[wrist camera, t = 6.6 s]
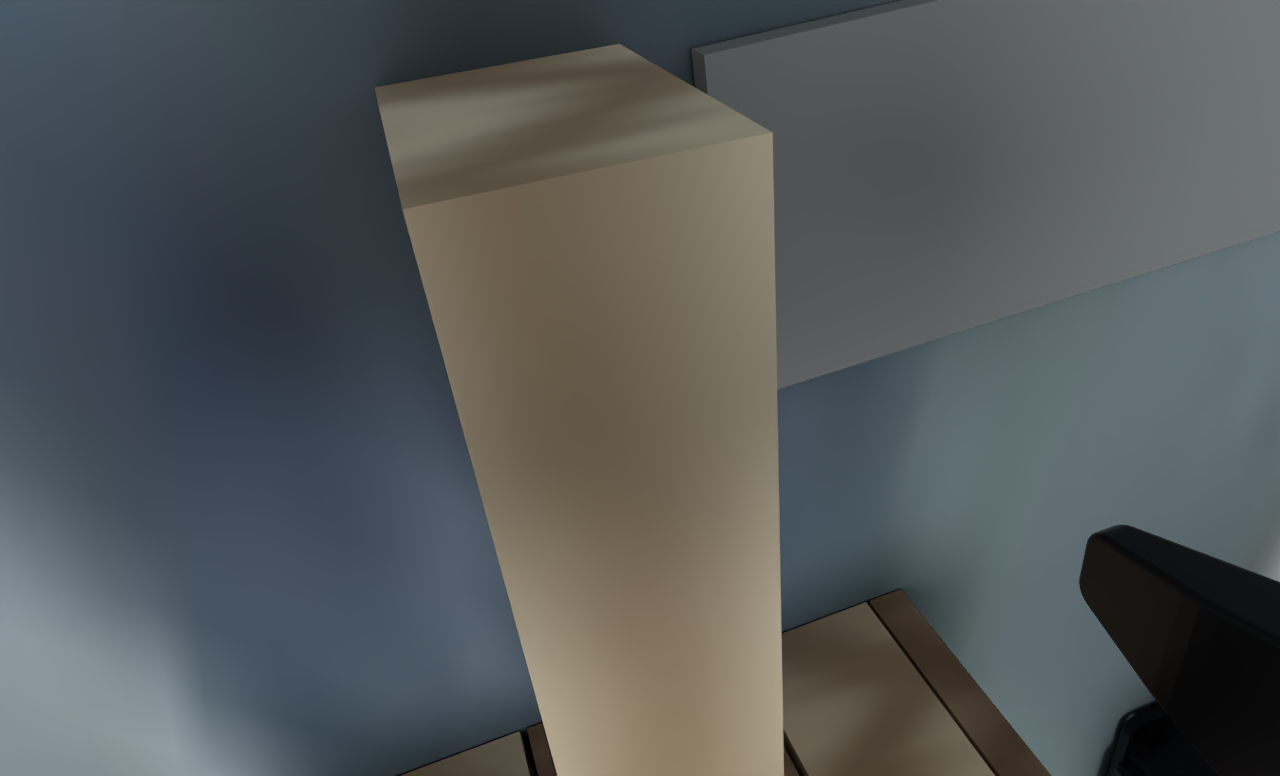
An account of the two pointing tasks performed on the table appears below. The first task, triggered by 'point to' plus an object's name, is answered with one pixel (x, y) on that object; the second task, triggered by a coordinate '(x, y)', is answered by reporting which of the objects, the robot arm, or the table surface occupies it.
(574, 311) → the block
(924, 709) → the brown storage crate
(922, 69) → the pad
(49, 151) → the table surface
